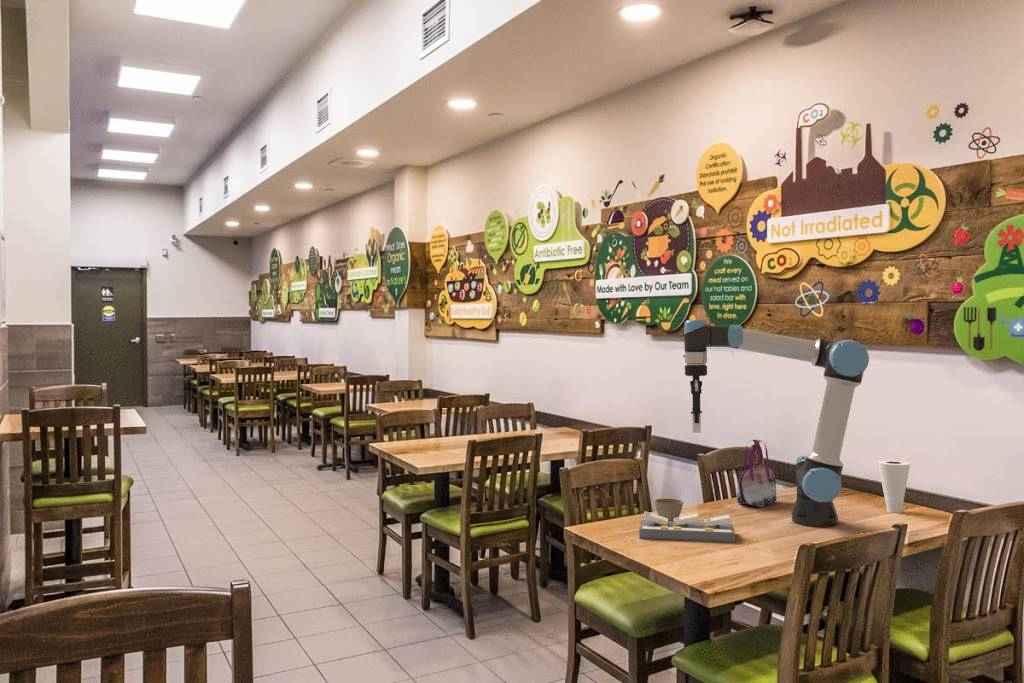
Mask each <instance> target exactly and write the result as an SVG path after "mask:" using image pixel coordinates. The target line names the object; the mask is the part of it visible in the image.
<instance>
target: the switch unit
mask: <svg viewBox="0 0 1024 683" xmlns="http://www.w3.org/2000/svg"><path fill="white" fill-rule="evenodd" d="M638 530H639V534H638V535H639V539H648V540H649V539H650V540H669V541H670V540H671V541H691V542H692V541H693V542H694V541H695V542H696V541H697V542H718V543H736V531H735V528H734V525H733V523H726V524H720V525H714V526H708V527H706V524H705V522H699V521H698V522H692V523H687V524H681V525H676V526H675V524H674V522H673V521H668V523H667V526H665V525H662V524H659V523H656V522H653V521H650V520H646V519H643V520H640V524H639V529H638Z"/></svg>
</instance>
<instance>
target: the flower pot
mask: <svg viewBox="0 0 1024 683" xmlns="http://www.w3.org/2000/svg"><path fill="white" fill-rule="evenodd" d="M653 502H654V506H655V510H656V512H657V515H659V516H662V517H665V518H668V521H673V522H674V518H677V517H680V515H681V513H682V510H683V505H684V501H683V500H681V499H677V498H664V497H663V498H657V499H655V500H653Z"/></svg>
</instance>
